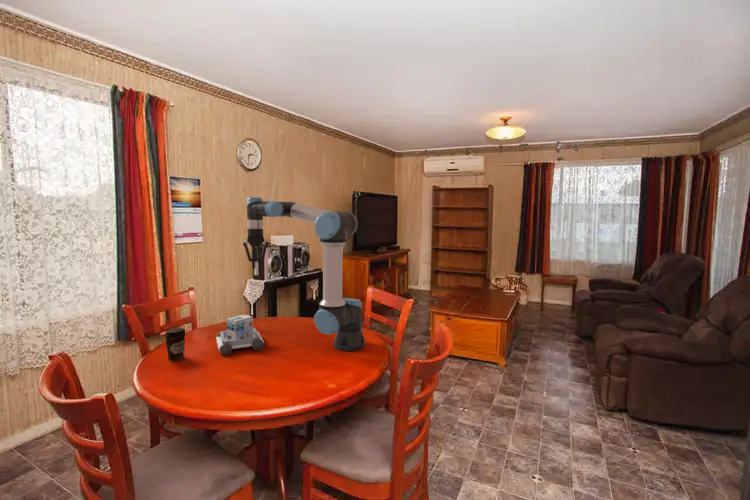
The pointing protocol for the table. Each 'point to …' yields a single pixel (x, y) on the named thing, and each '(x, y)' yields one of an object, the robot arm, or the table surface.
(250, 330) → the light bulb box
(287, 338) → the table surface
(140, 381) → the table surface
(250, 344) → the chassis
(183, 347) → the coffee cup
